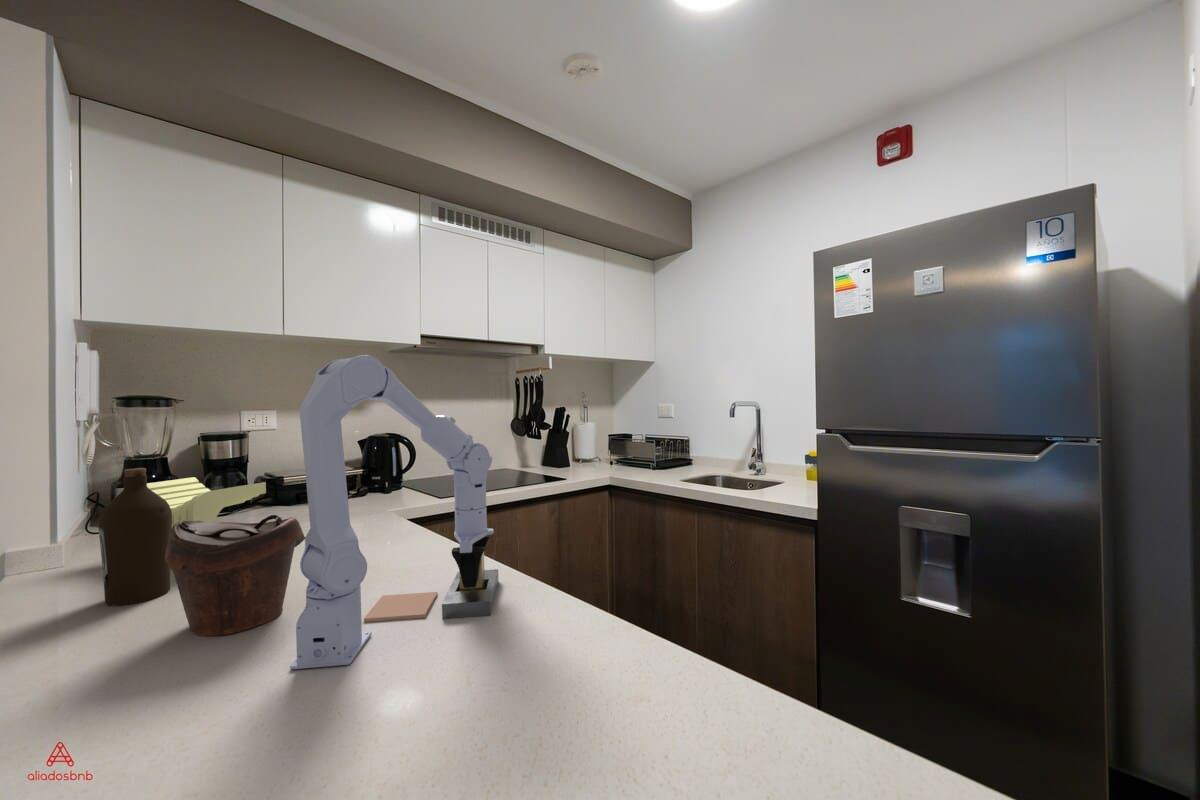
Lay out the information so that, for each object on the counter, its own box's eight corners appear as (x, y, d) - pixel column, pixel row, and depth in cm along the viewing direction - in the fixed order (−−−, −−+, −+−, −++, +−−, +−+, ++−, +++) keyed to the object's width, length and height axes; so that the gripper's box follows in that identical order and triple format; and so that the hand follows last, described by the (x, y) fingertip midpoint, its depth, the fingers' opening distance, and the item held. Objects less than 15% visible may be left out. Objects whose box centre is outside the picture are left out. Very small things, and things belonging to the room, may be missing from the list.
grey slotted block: (490, 615, 86) (490, 600, 86) (442, 618, 85) (441, 604, 85) (498, 581, 101) (498, 569, 101) (458, 584, 101) (457, 571, 101)
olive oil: (178, 582, 106) (175, 463, 106) (168, 599, 97) (164, 469, 96) (110, 593, 100) (106, 468, 100) (91, 612, 91) (88, 474, 91)
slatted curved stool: (122, 559, 123) (120, 487, 123) (196, 541, 137) (194, 477, 137) (194, 574, 111) (192, 493, 111) (267, 553, 125) (265, 481, 125)
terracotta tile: (425, 617, 85) (425, 614, 85) (363, 622, 84) (363, 618, 84) (437, 595, 95) (437, 591, 95) (382, 598, 94) (382, 595, 94)
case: (327, 608, 90) (323, 508, 90) (190, 659, 73) (184, 536, 73) (279, 591, 100) (275, 501, 100) (148, 632, 83) (144, 524, 83)
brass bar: (482, 602, 91) (481, 553, 91) (460, 603, 91) (458, 554, 91) (485, 593, 95) (483, 546, 95) (463, 595, 95) (462, 547, 95)
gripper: (488, 514, 86) (490, 593, 86) (496, 498, 101) (497, 565, 101) (446, 517, 85) (448, 596, 85) (460, 500, 100) (461, 568, 100)
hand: (472, 580), depth 93 cm, fingers open, 6 cm apart
